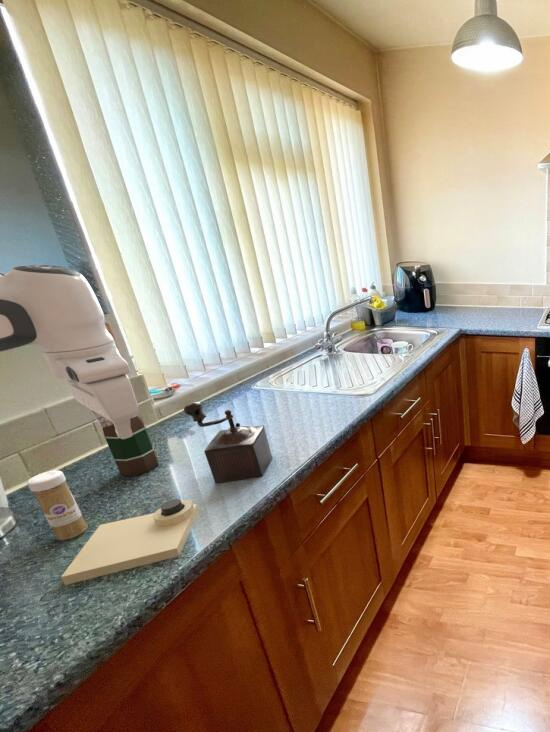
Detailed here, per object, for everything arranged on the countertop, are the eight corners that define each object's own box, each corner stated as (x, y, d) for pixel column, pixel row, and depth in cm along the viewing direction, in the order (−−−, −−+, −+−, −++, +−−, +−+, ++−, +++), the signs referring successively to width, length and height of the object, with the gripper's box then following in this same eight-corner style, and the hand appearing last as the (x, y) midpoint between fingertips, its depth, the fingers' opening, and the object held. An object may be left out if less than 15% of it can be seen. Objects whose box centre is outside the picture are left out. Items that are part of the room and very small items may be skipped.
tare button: (160, 518, 80) (158, 510, 79) (166, 508, 82) (163, 501, 82) (180, 513, 81) (177, 506, 80) (185, 504, 83) (182, 497, 83)
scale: (64, 585, 68) (56, 569, 67) (103, 532, 80) (96, 518, 79) (180, 556, 74) (174, 541, 73) (199, 510, 86) (195, 497, 85)
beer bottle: (130, 462, 104) (95, 376, 95) (166, 457, 106) (134, 372, 98) (113, 479, 97) (73, 387, 89) (151, 474, 99) (116, 383, 91)
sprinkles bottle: (61, 544, 77) (30, 486, 72) (53, 536, 79) (22, 478, 75) (93, 530, 81) (65, 473, 76) (84, 522, 83) (57, 466, 78)
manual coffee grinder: (274, 454, 108) (258, 392, 101) (263, 477, 98) (244, 410, 91) (207, 463, 104) (186, 399, 97) (188, 488, 94) (163, 419, 87)
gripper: (42, 357, 73) (74, 425, 78) (81, 376, 63) (114, 452, 68) (89, 348, 78) (116, 412, 83) (132, 364, 68) (159, 436, 73)
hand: (116, 431), depth 75 cm, fingers open, 8 cm apart
